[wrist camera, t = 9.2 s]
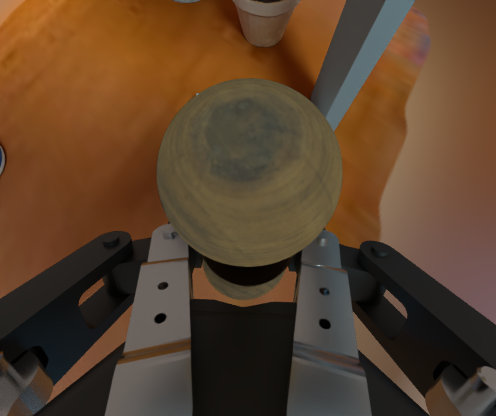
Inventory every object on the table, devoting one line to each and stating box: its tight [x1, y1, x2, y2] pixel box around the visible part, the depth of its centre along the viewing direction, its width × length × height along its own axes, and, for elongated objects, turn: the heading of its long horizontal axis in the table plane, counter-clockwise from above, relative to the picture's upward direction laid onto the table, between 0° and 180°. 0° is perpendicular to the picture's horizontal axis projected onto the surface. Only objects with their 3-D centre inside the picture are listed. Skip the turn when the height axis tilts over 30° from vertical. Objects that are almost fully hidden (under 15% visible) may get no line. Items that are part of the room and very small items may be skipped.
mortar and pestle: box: [157, 78, 342, 300], centre depth 11 cm, size 7×6×18 cm
